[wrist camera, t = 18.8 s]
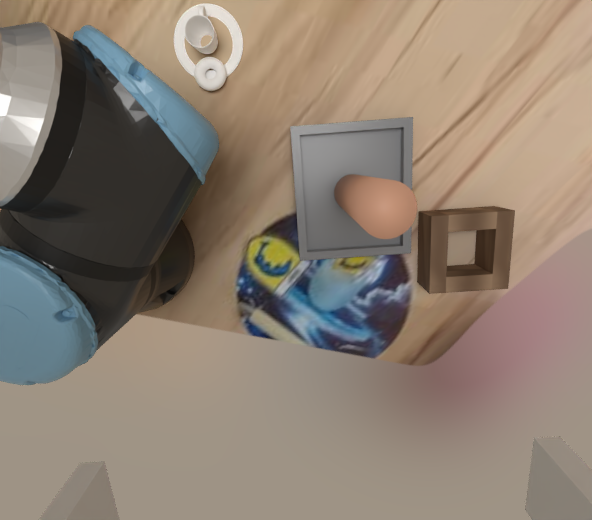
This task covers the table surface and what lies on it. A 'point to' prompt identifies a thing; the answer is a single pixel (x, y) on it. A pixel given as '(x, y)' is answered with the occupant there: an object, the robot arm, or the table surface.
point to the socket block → (488, 256)
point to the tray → (336, 164)
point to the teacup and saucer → (194, 29)
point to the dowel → (377, 204)
